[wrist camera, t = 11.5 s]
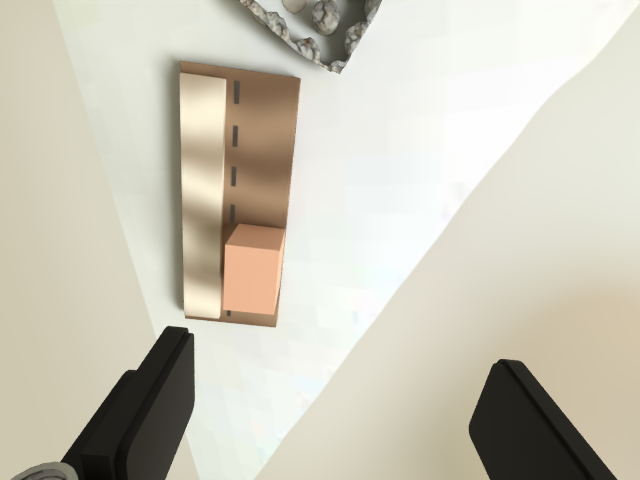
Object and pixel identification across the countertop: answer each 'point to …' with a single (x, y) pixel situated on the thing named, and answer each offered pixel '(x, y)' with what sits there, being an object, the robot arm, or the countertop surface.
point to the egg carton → (316, 26)
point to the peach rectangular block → (253, 269)
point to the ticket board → (231, 173)
